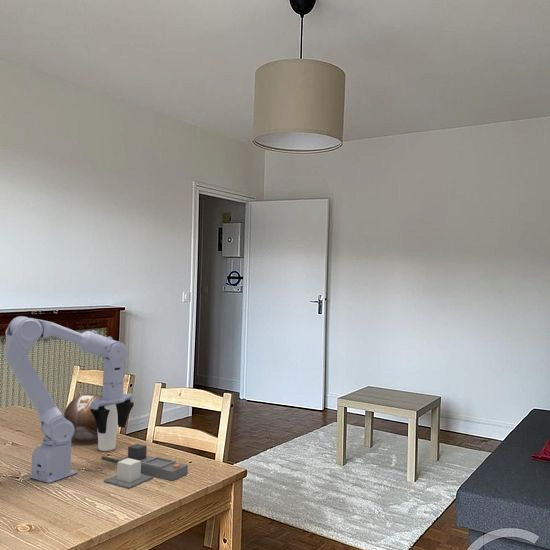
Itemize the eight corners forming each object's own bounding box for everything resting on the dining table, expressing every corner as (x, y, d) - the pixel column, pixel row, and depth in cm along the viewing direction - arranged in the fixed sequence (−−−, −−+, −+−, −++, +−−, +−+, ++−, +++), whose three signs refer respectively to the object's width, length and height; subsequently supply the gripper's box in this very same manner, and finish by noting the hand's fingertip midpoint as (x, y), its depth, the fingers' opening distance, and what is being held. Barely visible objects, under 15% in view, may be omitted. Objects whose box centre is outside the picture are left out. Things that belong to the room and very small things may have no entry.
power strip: (172, 480, 147) (172, 458, 147) (94, 461, 161) (94, 441, 161) (187, 473, 153) (188, 452, 153) (110, 455, 167) (111, 436, 167)
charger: (129, 482, 144) (130, 465, 144) (117, 479, 146) (117, 462, 146) (140, 477, 148) (141, 460, 148) (128, 474, 150) (128, 457, 150)
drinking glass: (104, 453, 169) (105, 404, 169) (90, 449, 173) (92, 401, 173) (122, 448, 174) (123, 400, 174) (109, 444, 178) (110, 397, 179)
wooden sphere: (60, 447, 174) (62, 399, 174) (65, 434, 189) (66, 390, 189) (110, 444, 178) (111, 398, 178) (111, 432, 193) (112, 389, 193)
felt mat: (129, 488, 141) (129, 487, 141) (103, 481, 145) (103, 480, 145) (153, 478, 149) (153, 476, 149) (128, 472, 153) (128, 470, 153)
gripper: (104, 387, 151) (102, 437, 151) (141, 380, 164) (140, 426, 164) (86, 385, 154) (84, 434, 154) (123, 377, 167) (122, 423, 167)
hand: (112, 430), depth 159 cm, fingers open, 7 cm apart
